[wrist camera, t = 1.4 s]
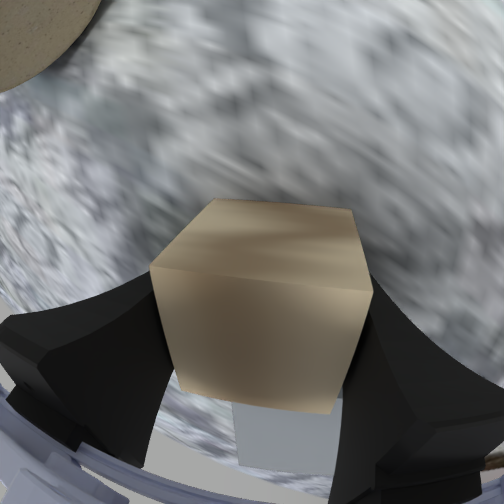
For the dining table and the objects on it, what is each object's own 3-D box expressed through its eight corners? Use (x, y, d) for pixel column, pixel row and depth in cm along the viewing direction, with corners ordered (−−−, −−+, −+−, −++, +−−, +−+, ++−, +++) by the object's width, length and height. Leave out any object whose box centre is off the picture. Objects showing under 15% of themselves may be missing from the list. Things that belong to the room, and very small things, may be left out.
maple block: (350, 208, 10) (373, 291, 6) (331, 316, 12) (329, 414, 8) (215, 197, 11) (148, 265, 6) (221, 303, 13) (181, 390, 9)
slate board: (484, 377, 12) (489, 391, 11) (405, 462, 19) (405, 472, 18) (235, 368, 15) (229, 385, 14) (241, 454, 22) (238, 465, 21)
